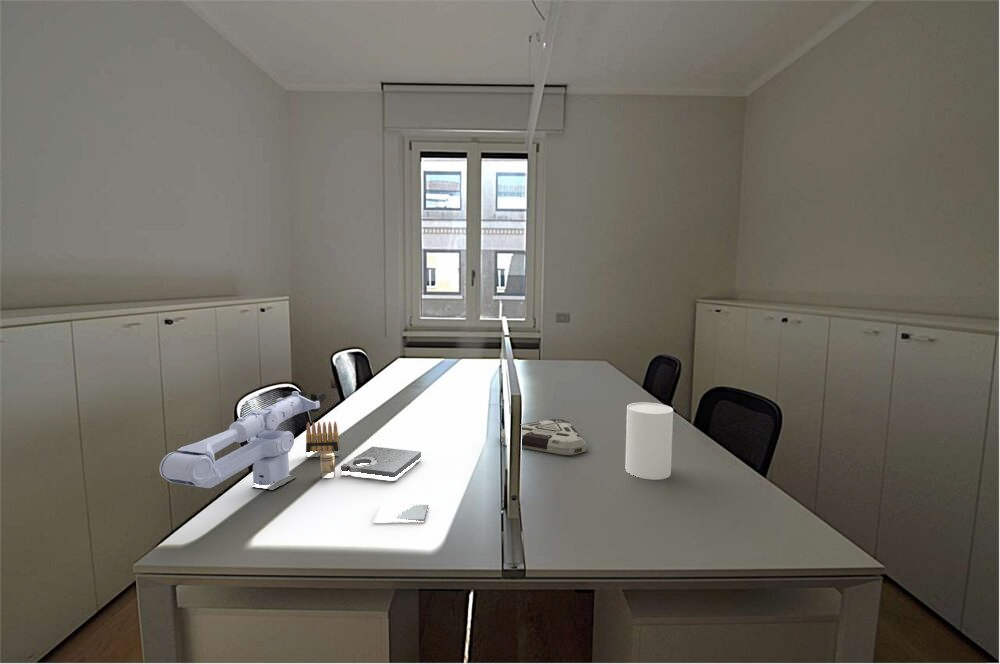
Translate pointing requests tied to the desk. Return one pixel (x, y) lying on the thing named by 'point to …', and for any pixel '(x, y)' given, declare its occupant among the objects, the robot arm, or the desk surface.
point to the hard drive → (415, 513)
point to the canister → (649, 440)
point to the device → (551, 437)
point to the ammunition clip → (322, 438)
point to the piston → (327, 462)
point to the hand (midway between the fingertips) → (314, 395)
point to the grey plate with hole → (382, 461)
